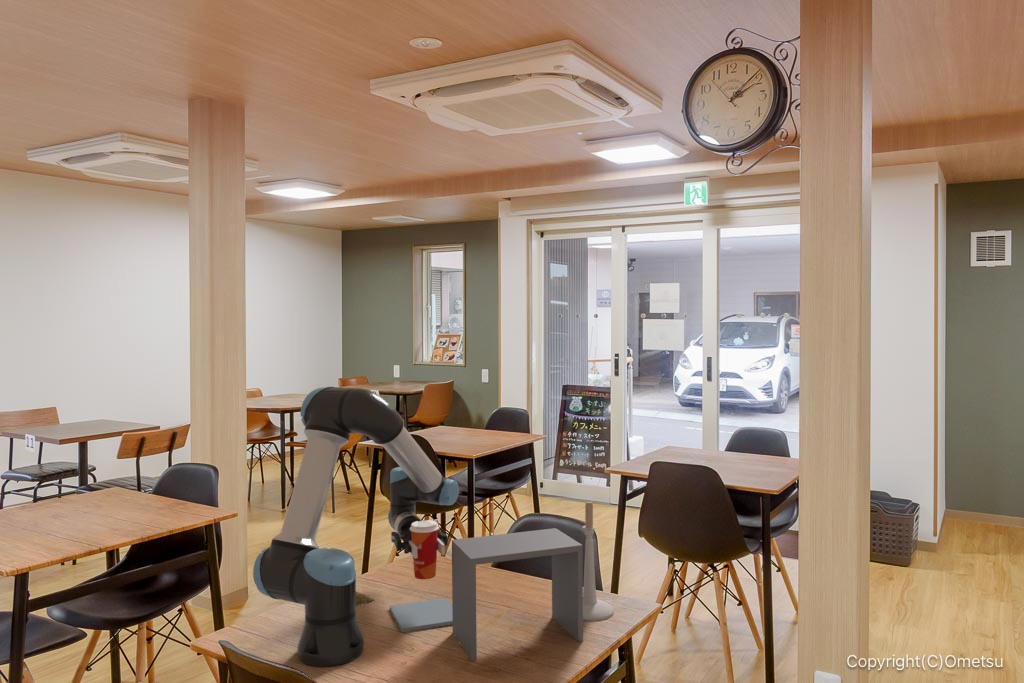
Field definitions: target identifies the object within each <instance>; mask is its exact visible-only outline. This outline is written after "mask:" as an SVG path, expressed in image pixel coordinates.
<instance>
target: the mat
mask: <svg viewBox="0 0 1024 683" xmlns="http://www.w3.org/2000/svg"><path fill="white" fill-rule="evenodd" d="M389 611H390V613H391V615H392V616H393V619H394V621H395V622H396V625H397V626H398V628H399V630H400V631H401V633H407V632H413V631H420V630H426V628H428V629H433V628H432V627H434V628H440V627H439V626H441V627H445V625H447V626H453V625H452V624H453V616H452V603H451V602H450V601H449V599H448V598H447V597H444V598H443V597H442V598H435V599H429V600H422V601H415V602H408V603H399V604H394V605H389Z"/></svg>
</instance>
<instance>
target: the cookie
mask: <svg viewBox="0 0 1024 683" xmlns="http://www.w3.org/2000/svg"><path fill="white" fill-rule="evenodd" d="M375 600H376V599H375V598H373V597H370V596H367V595H365V594H363V593H360V592H358V591H356V606H357V607H359V606H358V605H360V606H362V605H361V604H363V605H366V604H365V603H367V604H370V603H372V601H373V602H374V601H375ZM369 602H370V603H369ZM375 602H376V601H375Z"/></svg>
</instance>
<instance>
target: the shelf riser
mask: <svg viewBox="0 0 1024 683" xmlns="http://www.w3.org/2000/svg"><path fill="white" fill-rule="evenodd" d="M583 554H584V553H583V544H582V543H580V542H578V541H577V540H575V539H574V538H572V537H571V536H569V535H567V534H566V533H564V532H563V531H561V530H560V529H558V528H556V527H555V528H546V529H545V528H544V529H536V530H527V531H520V532H519V531H517V532H511V533H510V532H509V533H502V534H501V533H500V534H494V535H493V534H492V535H483V536H475V537H466V538H458V539H457V538H456V539H451V581H452V583H451V588H452V589H451V592H452V593H451V595H452V596H451V597H452V599H451V600H452V603H451V604H452V616H453V625H452V634H453V636H454V635H455V636H454V637H455V638H457V639H458V640H457V639H456V640H457V642H458V643H459V642H460V643H459V644H460V645H462V646H461V648H464V649H463V650H464V651H465V654H466V655H468V657H469V658H470V660H471V661H474V660H477V656H478V655H477V650H478V649H477V648H478V647H477V645H478V644H477V642H478V641H477V567H476V566H477V565H485V564H492V563H501V562H509V561H517V560H524V559H531V558H532V559H533V558H539V557H548V556H551V613H552V614H551V618H552V619H553V620H555V621H556V622H557V623H558V624H559V625H560V626H561V627H562V628H563V629H564V630H565V629H566V630H565V631H566V632H568V633H569V635H571V636H572V638H574V639H575V640H576V641H577V642H583V641H584V620H583V587H584V570H583V566H584V565H583V562H584V561H583Z"/></svg>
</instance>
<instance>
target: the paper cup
mask: <svg viewBox="0 0 1024 683" xmlns="http://www.w3.org/2000/svg"><path fill="white" fill-rule="evenodd" d="M438 529H439V530H440V527H439V525H438V522H437V521H436V520H432V519H431V520H430V519H426V520H425V519H424V520H421V521H419V523H418V521H416V522H413V523H412V524H411V527H410V531H411V538H412V543H414V544H415V545H416V547H417V558H414V557H413V556H412V564H413V572H414V577H415V579H417V580H418V579H419V580H429V579H433V578H435V577H436V575H437V574H436V573H437V561H438V560H437V558H438V557H437V556H438V555H437V554H438V550H437V533H438Z"/></svg>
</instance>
